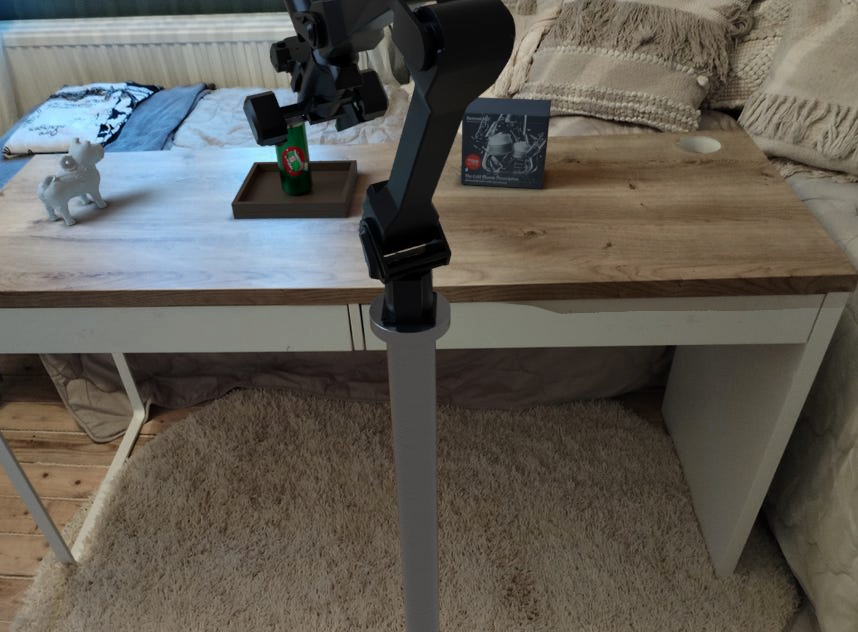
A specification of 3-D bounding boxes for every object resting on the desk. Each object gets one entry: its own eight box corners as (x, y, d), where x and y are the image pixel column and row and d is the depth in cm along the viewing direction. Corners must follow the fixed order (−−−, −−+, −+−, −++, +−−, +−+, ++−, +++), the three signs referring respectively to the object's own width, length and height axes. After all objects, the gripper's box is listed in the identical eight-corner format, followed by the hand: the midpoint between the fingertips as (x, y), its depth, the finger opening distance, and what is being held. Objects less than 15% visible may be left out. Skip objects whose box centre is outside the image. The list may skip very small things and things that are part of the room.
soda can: (293, 181, 116) (282, 108, 109) (319, 185, 115) (310, 112, 107) (276, 194, 113) (263, 119, 106) (302, 198, 111) (292, 123, 104)
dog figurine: (125, 195, 118) (106, 133, 112) (66, 229, 110) (42, 164, 103) (102, 190, 120) (83, 129, 114) (43, 223, 112) (17, 158, 105)
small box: (459, 185, 114) (460, 111, 106) (465, 168, 119) (467, 96, 112) (542, 190, 111) (549, 114, 104) (545, 171, 116) (552, 98, 109)
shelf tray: (346, 217, 108) (344, 202, 106) (234, 218, 109) (231, 203, 108) (357, 174, 120) (356, 160, 118) (256, 175, 121) (254, 162, 120)
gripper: (372, 3, 89) (346, 72, 104) (231, 30, 84) (225, 99, 99) (404, 82, 89) (374, 140, 103) (264, 115, 83) (253, 172, 98)
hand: (307, 136), depth 101 cm, fingers open, 9 cm apart
